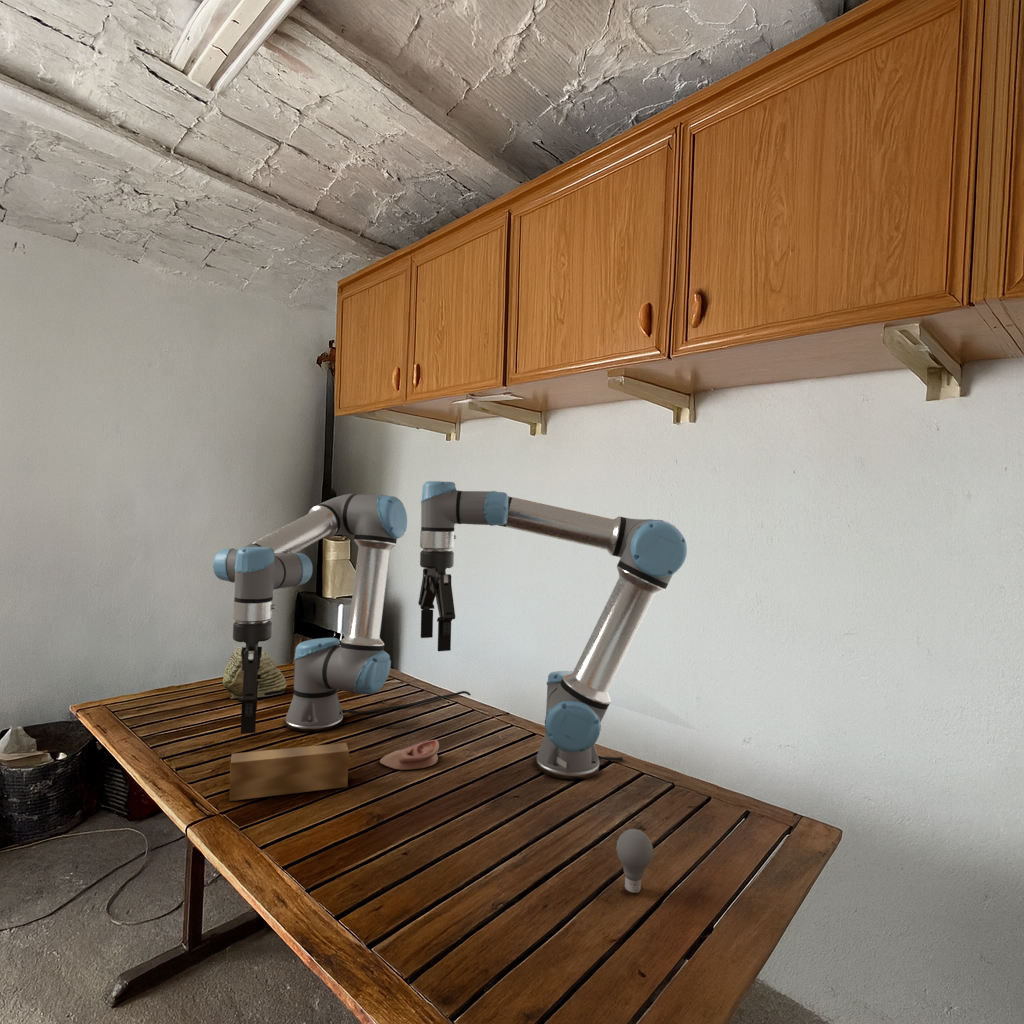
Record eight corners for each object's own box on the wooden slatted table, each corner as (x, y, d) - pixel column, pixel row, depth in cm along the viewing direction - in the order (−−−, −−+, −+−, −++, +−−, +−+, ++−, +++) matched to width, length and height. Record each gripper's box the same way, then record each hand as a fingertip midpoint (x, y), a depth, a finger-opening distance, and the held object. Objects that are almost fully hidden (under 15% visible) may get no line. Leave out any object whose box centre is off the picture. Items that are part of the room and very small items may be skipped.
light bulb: (610, 879, 108) (613, 822, 108) (644, 879, 109) (647, 822, 109) (619, 902, 102) (622, 840, 102) (655, 901, 103) (658, 840, 103)
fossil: (218, 695, 195) (220, 647, 195) (278, 685, 208) (279, 640, 207) (228, 703, 189) (230, 653, 188) (289, 692, 201) (290, 645, 201)
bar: (229, 801, 130) (230, 762, 130) (230, 790, 135) (231, 753, 135) (347, 786, 139) (348, 750, 139) (344, 777, 143) (346, 742, 143)
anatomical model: (374, 749, 149) (393, 732, 160) (374, 766, 149) (393, 748, 161) (428, 756, 147) (443, 739, 158) (427, 774, 147) (443, 754, 158)
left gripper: (271, 632, 123) (267, 741, 123) (271, 609, 146) (268, 701, 146) (229, 634, 120) (225, 745, 120) (236, 610, 143) (233, 703, 144)
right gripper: (471, 554, 133) (469, 655, 133) (437, 545, 155) (434, 631, 156) (437, 554, 130) (434, 658, 130) (407, 545, 152) (404, 633, 153)
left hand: (249, 721), depth 133 cm, fingers open, 13 cm apart
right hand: (434, 644), depth 143 cm, fingers open, 13 cm apart
